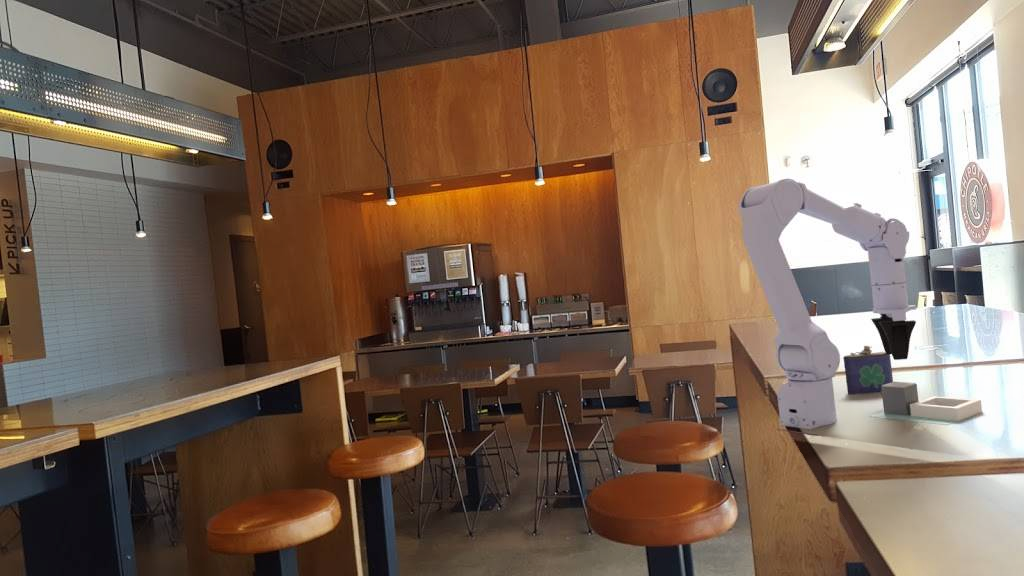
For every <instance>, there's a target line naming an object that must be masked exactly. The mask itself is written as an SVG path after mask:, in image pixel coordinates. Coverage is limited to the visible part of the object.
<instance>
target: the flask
mask: <svg viewBox="0 0 1024 576" xmlns="http://www.w3.org/2000/svg"><path fill="white" fill-rule="evenodd" d="M863 347H864V348H863V350H861V351H859V352H858V351H856V352H855V353H853V352H850V354H848V355H843V365H844V372H845V373H844V374H845V379H846V380H845V381H846V389H847V394H848V395H861V394H863V395H864V394H871V393H872V394H874V393H882V389H881V386H882V385H885V384H888V383H891V382H894V377H893V368H892V361H891V354H886V352H885V351H878V352H873V350H872V348H873V347H872V346H870V345H863Z"/></svg>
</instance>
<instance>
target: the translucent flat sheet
mask: <svg viewBox="0 0 1024 576" xmlns="http://www.w3.org/2000/svg"><path fill="white" fill-rule="evenodd" d="M980 413H983V410H982V412H980ZM980 413H977V414H975V415H978V414H980ZM975 415H972V416H971V417H973V416H975ZM869 417H871V418H881V419H886V420H887V419H889V420H900V421H907V422H915V423H927V424H935V425H936V424H937V425H943V426H949V425H952V424H954V423H957V422H960V421H962V420H965V419H967V418H969V417H967V418H964V419H962V420H959V421H956V420H946V419H936V418H926V417H917V416H911V415H908V416H904V415H894V414H884V411H882V412H879V413H876V414H873V415H870V416H869Z"/></svg>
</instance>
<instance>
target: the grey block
mask: <svg viewBox="0 0 1024 576" xmlns="http://www.w3.org/2000/svg"><path fill="white" fill-rule="evenodd" d="M917 385H918V384H917V383H916V382H905V381H893V382H891V383H888V384H885V385H882V386H881V389H882V392H881V397H882V405H883V406H882V407H883V412H884V414H894V415H904V416H908V415H911V410H910V404H912V403H915V402H918V401H920V400H919V393H918V386H917Z"/></svg>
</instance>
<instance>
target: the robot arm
mask: <svg viewBox="0 0 1024 576" xmlns="http://www.w3.org/2000/svg"><path fill="white" fill-rule="evenodd" d="M737 210H738V213H739V215H740V217H741V221H742V223H741V224H742V241H743V244H744V246H745V247H744V248H745V250H746V252H747V254H748V257H749V260H750V262H751V263H752V264H751V265H752V266H753V269H754V271H755V273H756V276H757V278H758V280H759V283H760V286H761V287H762V291H763V292H764V296H765V298H766V300H767V303H768V306H769V307H770V310H771V312H772V315H773V317H774V320H775V323H776V325H777V327H778V330H779V331H778V332H777V334H776V336H775V337H774V339H773V343H774V346H775V349H776V355H775V357H776V362H777V365H778V367H779V368H780V370H782V371H783V372H784V375H785V378H787V382H786V383H785V384H783V385H782V386H780V388H779V390H778V391H777V392H778V393H777V404H778V412H779V421H780V422H779V423H780V426H784V427H791V428H798V429H805V430H812V429H815V428H818V427H822V426H825V425H826V426H827V425H831V424H835V423H836V422H837V421H838V419H837V409H836V401H835V394H834V393H835V392H834V383H833V378H835V377H836V376H835V373H836V372H837V371H838V370H839V367H840V364H841V354H840V351H839V349H838V347H837V345H835V344H834V343H833V342H832V341H831V339H830V338H829V336H828V333H827V332H826V331H825V330H824V329H823V328H822V327H821V326H819V325H817V324H816V323H814V321H812V319H811V315H810V313H809V311H808V309H807V306H806V303H805V301H804V299H803V296H802V294H801V292H800V291H801V290H800V289H799V287H798V284H797V282H796V279H795V277H794V274H793V272H792V270H791V267H790V265H789V261H788V260H787V256H786V254H785V252H784V249H783V247H782V244H781V242H780V237H781V235H782V233H783V232H784V230H785V229H786V227H788V225H789V224H790V222H791V221H792V220H793V219H794V218H795V216H797V214H798V213H800V214H803V215H805V216H808V217H811V218H815V219H817V220H820V221H823V222H826V223H828V224H831V226H832V229H833V231H834V233H836V234H838V235H841V236H843V237H845V238H848V239H850V240H852V241H855V242H857V243H858V244H859V245H860V248H861V249H863V250H864V251H865V252H867V256H868V258H867V259H868V266H869V267H868V268H869V273H870V274H869V275H870V276H869V277H870V282H871V283H870V284H871V294H872V303H873V308H872V313H873V314H879V316H880V317H874V318H871V319H870V320H871V321H872V324H873V325H874V326H875V328H876V330H877V332H878V334H879V337H880V340H881V343H882V346H883V349H884V352H886V354H890V355H892V358H893V360H894V361H901V360H908V358H909V349H910V341H911V337H912V332H913V330H914V328H915V326H916V323H917V321H916V320H914V319H913V320H907V316H906V315H907V314H906V313H908V312H909V311H913V310H917V305H916V304H914V305H913V304H912V305H911V304H910V305H909V295H908V288H907V286H908V285H907V278H906V269H905V259H904V258H905V257H906V255H907V249H906V247H907V245H908V243H909V241H910V231H908V229H907V227H906V225H905V224H904V222H902V221H900V220H899V219H897V218H886V219H885V218H884V217H882V215H881V214H880V213H877V212H875V213H874V212H871V211H868V210H867V209H864V208H862V204H859V203H857V202H856V203H854V202H853V203H847V204H844V205H843V206H841V205H839V204H837V203H836V202H833V201H831V200H829V199H827V198H826V197H824V196H821V195H820V194H818V193H816V192H814V191H813V190H810V189H808V188H807V186H806V184H804V183H802V182H800V181H799V182H797V181H796V180H794V179H792V178H789V177H788V178H782V179H779V180H777V181H774V182H770V183H767V184H763V185H759V186H752V187H750V188H747V190H745V192H744V193H743V195H742V196H741V199H740V201H739V203H738V204H737ZM776 430H777V431H780V432H781V431H782V432H788V433H789V432H790V433H796V434H802V435H810V436H817V434H815V433H808V432H801V431H795V430H789V429H788V430H786V429H779V428H777V429H776Z"/></svg>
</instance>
